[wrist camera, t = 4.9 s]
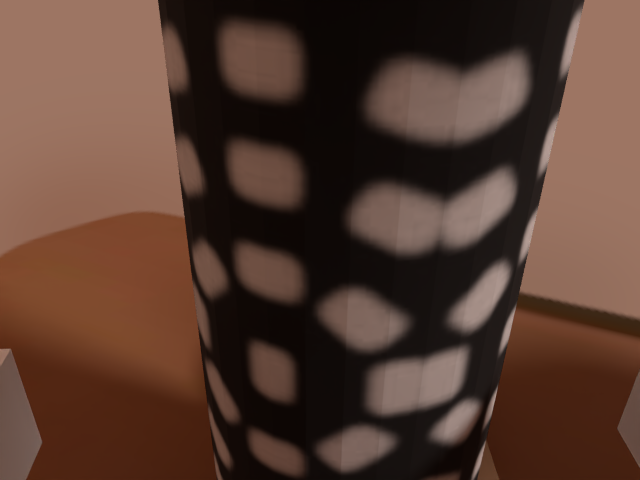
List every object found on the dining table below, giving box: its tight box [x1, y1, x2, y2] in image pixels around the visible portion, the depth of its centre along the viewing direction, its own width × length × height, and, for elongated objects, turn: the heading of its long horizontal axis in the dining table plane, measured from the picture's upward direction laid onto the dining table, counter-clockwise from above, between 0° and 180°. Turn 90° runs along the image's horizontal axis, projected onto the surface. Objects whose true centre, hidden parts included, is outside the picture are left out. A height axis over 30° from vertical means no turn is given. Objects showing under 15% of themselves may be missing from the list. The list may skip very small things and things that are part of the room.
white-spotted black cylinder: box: [158, 0, 584, 480], centre depth 17 cm, size 8×8×20 cm
